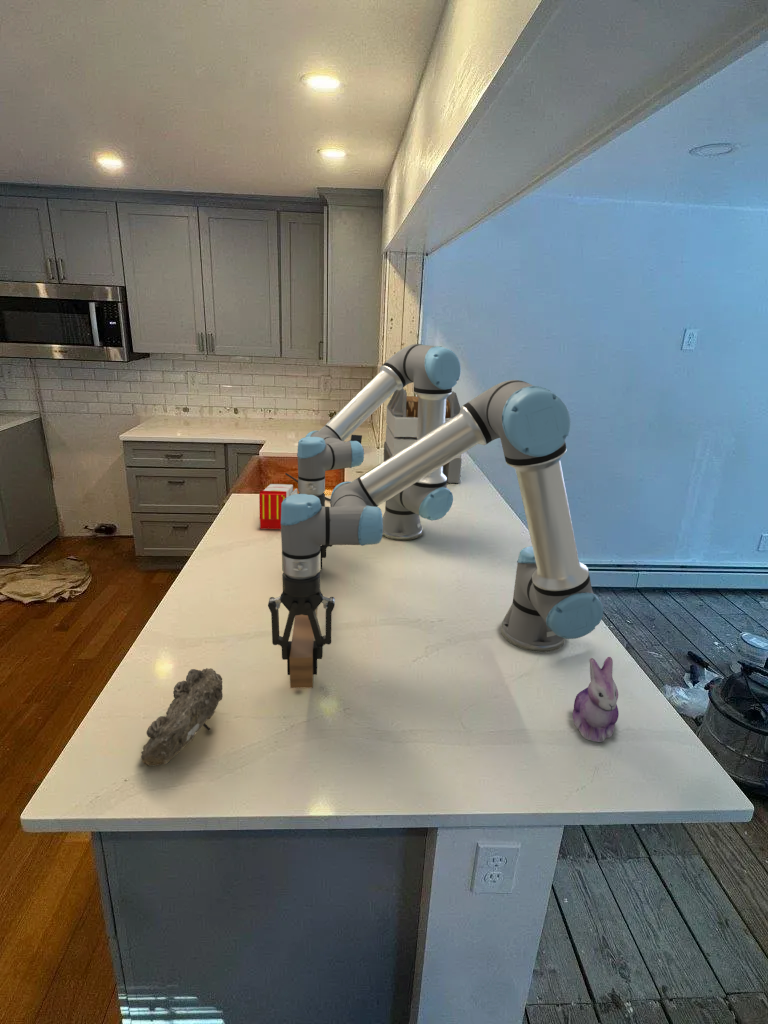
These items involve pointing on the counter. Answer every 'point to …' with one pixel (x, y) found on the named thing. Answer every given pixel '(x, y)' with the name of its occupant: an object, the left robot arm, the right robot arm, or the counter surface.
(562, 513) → the right robot arm
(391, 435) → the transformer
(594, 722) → the figurine
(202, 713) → the fossil
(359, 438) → the figurine character
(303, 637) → the post
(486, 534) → the counter surface
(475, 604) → the counter surface
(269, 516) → the toy
